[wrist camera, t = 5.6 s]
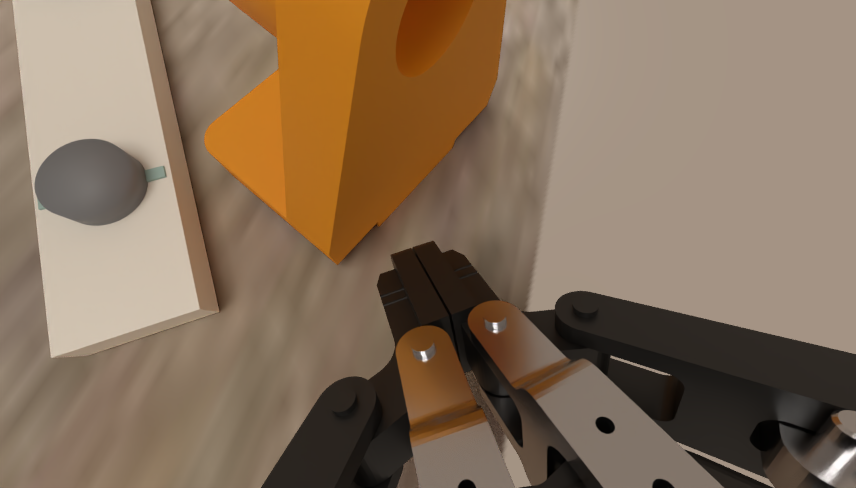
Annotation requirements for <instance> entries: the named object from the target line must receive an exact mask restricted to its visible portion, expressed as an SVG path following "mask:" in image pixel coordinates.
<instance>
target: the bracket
mask: <svg viewBox="0 0 856 488" xmlns="http://www.w3.org/2000/svg"><path fill="white" fill-rule="evenodd" d="M229 1H231V2H232V3H233V4H234V5H236V6H237V7H238V8H239V9H240V10H242V11H243V12H244V13H246V14H247V15H248V16H249V17H251V18H252V19H253V20H255V21H256V22H257V23H258V24H260V25H261V26H262V27H263V28H265V29H266V30H267V31H269V32H270V33H271V34H272V35H274V36H275V37H276V38H277V46H278V65H279V69H278V70H277V71H275V72H274V73H273V74H272V75H270V76H269V77H268V78H267V79H266V80H264V81H263V82H262V83H261V84H259V85H258V86H257V87H256V88H254V89H253V90H252V91H251V92H250V93H248V94H247V95H246V96H245V97H243V98H242V99H241V100H240V101H238V102H237V103H236V104H235V105H234V106H232V107H231V108H230V109H229V110H227V111H226V112H225V113H224V114H222V115H221V116H220V117H219V118H218V119H216V120H215V121H214V122H213V123H212V124H211V125H210V126H209V127H208V129H207V130H206V133H205V137H204V142H205V146H206V148H207V150H208V151H209V153H210V154H211V155H212V156H213V157H214V158H215V159H216V160H217V161H219V162H220V163H221V164H222V165H223V166H224V167H225V168H226V169H227V170H228V171H229V172H230V173H231V174H232V175H233V176H234V177H235V178H236V179H237V180H239V181H240V182H241V183H242V184H243V185H244V186H246V187H247V188H248V189H249V190H250V191H251V192H253V193H254V194H255V195H256V196H257V197H258V198H260V199H261V200H262V201H263V202H264V203H265V204H267V205H268V206H269V207H270V208H271V209H272V210H274V211H275V212H276V213H277V214H278V215H280V216H281V217H282V218H283V219H284V220H285V221H287V222H288V223H289V224H290V225H291V226H292V227H294V228H295V229H296V230H297V231H298V232H299V233H301V234H302V235H303V236H304V237H305V238H306V239H308V240H309V241H310V242H311V243H312V244H313V245H315V246H316V247H317V248H318V249H319V250H320V251H322V252H323V253H324V254H325V255H326V256H327V257H329V258H330V259H331V260H332V261H333V262H334V263H336V264H337V265H338V264H339V263H340V262H341V261H342V260H343V259H344V258H345V256H346V255H347V254H348V253H349V252H350V251H351V250H352V249H353V248H354V247H355V246H356V245H357V244H358V243H359V241H360V240H361V239H362V238H363V237H364V236H365V235H366V234H367V233H368V232H369V231H370V230H371V229H372V228H373V227H374V225H375V224H376V225H378V226H380V225H381V224H382V223H383V222H384V221H385V220H386V219H387V218H388V217H389V216H390V215H391V213H392V212H393V211H394V210H395V209H396V208H397V207H398V206H399V205H400V204H401V203H402V202H403V201H404V199H405V198H406V197H407V196H408V195H409V194H410V193H411V192H412V191H413V190H414V189H415V188H416V187H417V186H418V184H419V183H420V182H421V181H422V180H423V179H424V178H425V177H426V176H427V175H428V174H429V173H430V172H431V170H432V169H433V168H434V167H435V166H436V165H437V164H438V163H439V162H440V161H441V160H442V159H443V158H444V156H445V155H446V154H447V153H448V152H449V151H450V150H451V149H452V148H453V145H454V142H455V139H456V138H457V137H458V136H459V135H460V134H461V132H462V131H463V130H464V129H465V128H466V127H467V126H468V125H469V124H470V123H471V122H472V121H473V120H474V119H475V117H476V116H477V115H478V114H479V113H480V112H481V111H482V110H483V109H484V108H485V107H486V106H487V104H488V101H489V98H490V96H491V93H492V91H493V88H494V85H495V83H496V80H497V75H498V67H499V58H500V50H501V42H502V33H503V25H504V17H505V8H506V0H229Z"/></svg>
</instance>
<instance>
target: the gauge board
mask: <svg viewBox="0 0 856 488" xmlns="http://www.w3.org/2000/svg"><path fill="white" fill-rule="evenodd" d="M12 2H13V11H14V21H15V30H16V39H17V48H18V58H19V67H20V76H21V85H22V94H23V104H24V113H25V122H26V131H27V141H28V150H29V159H30V168H31V178H32V187H33V196H34V205H35V214H36V224H37V233H38V242H39V251H40V261H41V270H42V279H43V288H44V297H45V307H46V316H47V325H48V334H49V344H50V353H51V358H58V357H74V356H88V355H91V354H94V353H97V352H100V351H103V350H106V349H109V348H112V347H115V346H118V345H121V344H124V343H127V342H131V341H134V340H137V339H140V338H143V337H146V336H149V335H152V334H155V333H158V332H161V331H164V330H167V329H170V328H173V327H176V326H179V325H182V324H185V323H188V322H191V321H194V320H197V319H200V318H203V317H206V316H209V315H212V314H215V313H218V312H219V307H218V303H217V298H216V294H215V289H214V285H213V280H212V276H211V271H210V267H209V262H208V258H207V253H206V248H205V244H204V239H203V235H202V230H201V226H200V221H199V217H198V212H197V208H196V203H195V199H194V194H193V190H192V185H191V181H190V176H189V172H188V167H187V163H186V158H185V154H184V149H183V145H182V140H181V136H180V131H179V127H178V122H177V118H176V113H175V109H174V104H173V100H172V95H171V91H170V86H169V82H168V77H167V73H166V68H165V64H164V59H163V55H162V50H161V46H160V41H159V37H158V32H157V28H156V23H155V19H154V14H153V10H152V5H151V1H150V0H12Z"/></svg>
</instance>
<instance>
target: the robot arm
mask: <svg viewBox="0 0 856 488" xmlns="http://www.w3.org/2000/svg"><path fill="white" fill-rule="evenodd" d="M391 260H392V263H393V266H394V270H391V271H388V272H385V273H382V274H380V276H379V280H378V283H377V287H378V290H379V294H380V297H381V300H382V303H383V306H384V309H385V312H386V315H387V319H388V322H389V325H390V328H391V331H392V334H393V337H394V341H395V350H394V354H393V356H392V358H391V360H390V361H389V363H388V364H387V365H386V366H385V367H384V368H383V369H382V370H381V371H380V372H379V373H377V374H376V375H374V376H373V377H372V378H370V379H369V380H367V379H365V378H362V377H356V376H354V377H346V378H343V379H340V380H338V381H336V382H335V383H333V384H332V385H330V386H329V387H328V388H327V389H326V390H325V391H324V392H323V393H322V394H321V396H320V397H319V399H318V400H317V402H316V403H315V405H314V406H313V408H312V409H311V411H310V412H309V414H308V416H307V417H306V419H305V420H304V422H303V423H302V425H301V426H300V428H299V430H298V431H297V433H296V434H295V436H294V437H293V439H292V440H291V442H290V443H289V445H288V447H287V448H286V450H285V451H284V453H283V454H282V456H281V457H280V459H279V461H278V462H277V464H276V465H275V467H274V468H273V470H272V471H271V473H270V474H269V476H268V478H267V479H266V481H265V482H264V484H263V485H262V487H261V488H396V487H397V485H398V482H399V479H400V477H401V474H402V470H403V464H405V463H406V462H407V461H408V460H409V459H410V458H411V457H412V456H413V457H414V462H415V467H416V472H417V478H418V483H419V488H515V486H514V484H513V481H512V479H511V476H510V474H509V472H508V469H507V467H506V464H505V462H504V459H503V457H502V455H501V452H500V450H499V447H498V445H497V442H496V440H495V438H494V435H493V433H492V430H491V428H490V425H489V423H488V421H487V418H486V416H485V414H484V412H483V410H482V408H481V407H480V406H478V405H477V403H476V401H475V399H474V396H473V394H472V391H471V389H470V386H469V384H468V381H467V379H466V376H465V374H464V373H466V372H468V371H470V370H472V371H473V373H474V374H475V376H476V378H477V381H478V387H479V391H480V394H481V396H482V398H483V399H484V401H485V402H486V404H487V406H488V407H489V409H490V410H491V412H492V414H493V415H494V417H495V418H496V420H497V422H498V423H499V425H500V426H501V428H502V430H503V431H504V433H505V434H506V436H507V438H508V439H509V441H510V442H511V444H512V445H513V447H514V449H515V450H516V452H517V454H518V455H519V457H520V460H521V462H522V464H523V466H524V469H525V472H526V475H527V477H528V479H529V481H530V483H531V485H532V486H528V487H521V488H773V487H770V486H768V485H766V484H764V483H761V482H759V481H757V480H754V479H752V478H750V477H748V476H745V475H743V474H741V473H739V472H736V471H734V470H732V469H730V468H727V467H725V466H723V465H720V464H718V463H716V462H714V461H711V460H709V459H707V458H705V457H702V456H700V455H698V454H695V453H692V452H690V451H687V450H684V449H683V448H682V447H680V445H678V444H677V443H676V442H679V443H681V444H684V445H686V446H689V447H691V448H694V449H696V450H699V451H701V452H703V453H706V454H708V455H711V456H713V457H716V458H718V459H721V460H723V461H726V462H728V463H731V464H733V465H735V466H738V467H740V468H743V469H745V470H748V471H750V472H753V473H755V474H758V475H760V476H763V477H765V478H768V479H769V480H770V482H771V483H772V484H773V486H774V487H775V488H856V354H852V353H848V352H844V351H839V350H834V349H830V348H827V347H822V346H818V345H814V344H810V343H805V342H801V341H797V340H792V339H788V338H784V337H780V336H775V335H771V334H767V333H763V332H758V331H754V330H750V329H746V328H741V327H737V326H733V325H729V324H724V323H720V322H716V321H711V320H707V319H703V318H698V317H694V316H690V315H686V314H682V313H677V312H673V311H669V310H665V309H660V308H656V307H652V306H647V305H643V304H639V303H634V302H631V301H626V300H622V299H617V298H613V297H609V296H605V295H601V294H596V293H592V292H586V291H576V292H571V293H567V294H565V295H563V296H561V297H560V298H559V299H558V300H557V302H556V305H555V310H546V311H537V312H524V311H520V310H519V309H518V308H517V307H516V306H514V305H512V304H510V303H508V302H505V301H500V300H499V299H498V297H497V296H496V295H495V293H494V292H493V291H492V290H491V288H490V287H489V286H488V285H487V283H486V282H485V281H484V280H483V278H482V277H481V276H480V275H479V273H477V271H476V270H475V268H474V267H473V266H472V265H471V263H470V262H469V261H468V260H467V258H466V257H465V256H464V255H462V254H460V253H458V252H456V251H454V250H450V251H447V252H444V253H442V252H441V251H440V249H439V248H438V247H437V245H436V244H435V242H434V241H431V242H428V243H425V244H421V245H418V246H415V247H413V248H410V249H407V250H404V251H401V252H397V253H394V254H391ZM611 355H612V356H615V357H618V358H621V359H624V360H627V361H630V362H633V363H637V364H640V365H643V366H646V367H649V368H652V369H655V370H658V371H662V372H665V373H668V374H670V376H668V375H661V374H658V373H655V372H652V371H649V370H646V369H643V368H640V367H636V366H633V365H630V364H627V363H624V362H621V361H618V360H615V359H612V358H610V356H611ZM675 441H676V442H675Z"/></svg>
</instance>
